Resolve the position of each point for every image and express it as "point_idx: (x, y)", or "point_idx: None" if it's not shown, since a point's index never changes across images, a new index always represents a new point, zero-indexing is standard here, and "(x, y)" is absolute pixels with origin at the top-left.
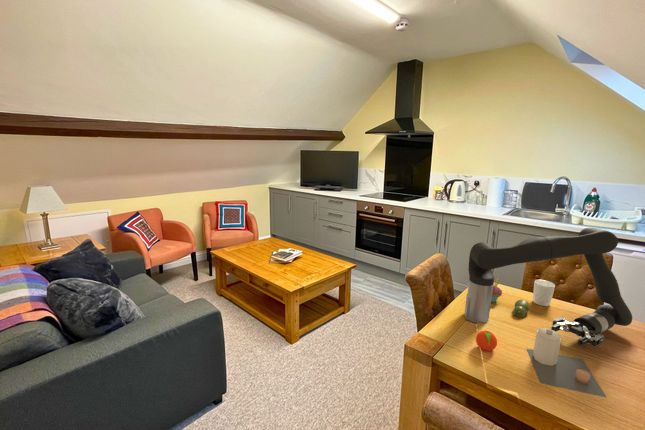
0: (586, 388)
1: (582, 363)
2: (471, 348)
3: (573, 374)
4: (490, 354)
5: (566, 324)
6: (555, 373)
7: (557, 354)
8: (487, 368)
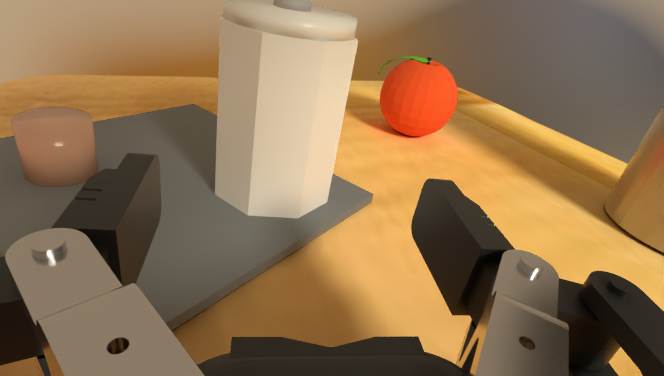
0: None
1: None
2: None
3: None
4: (376, 126)
5: (489, 308)
6: (180, 149)
7: (217, 128)
8: None
